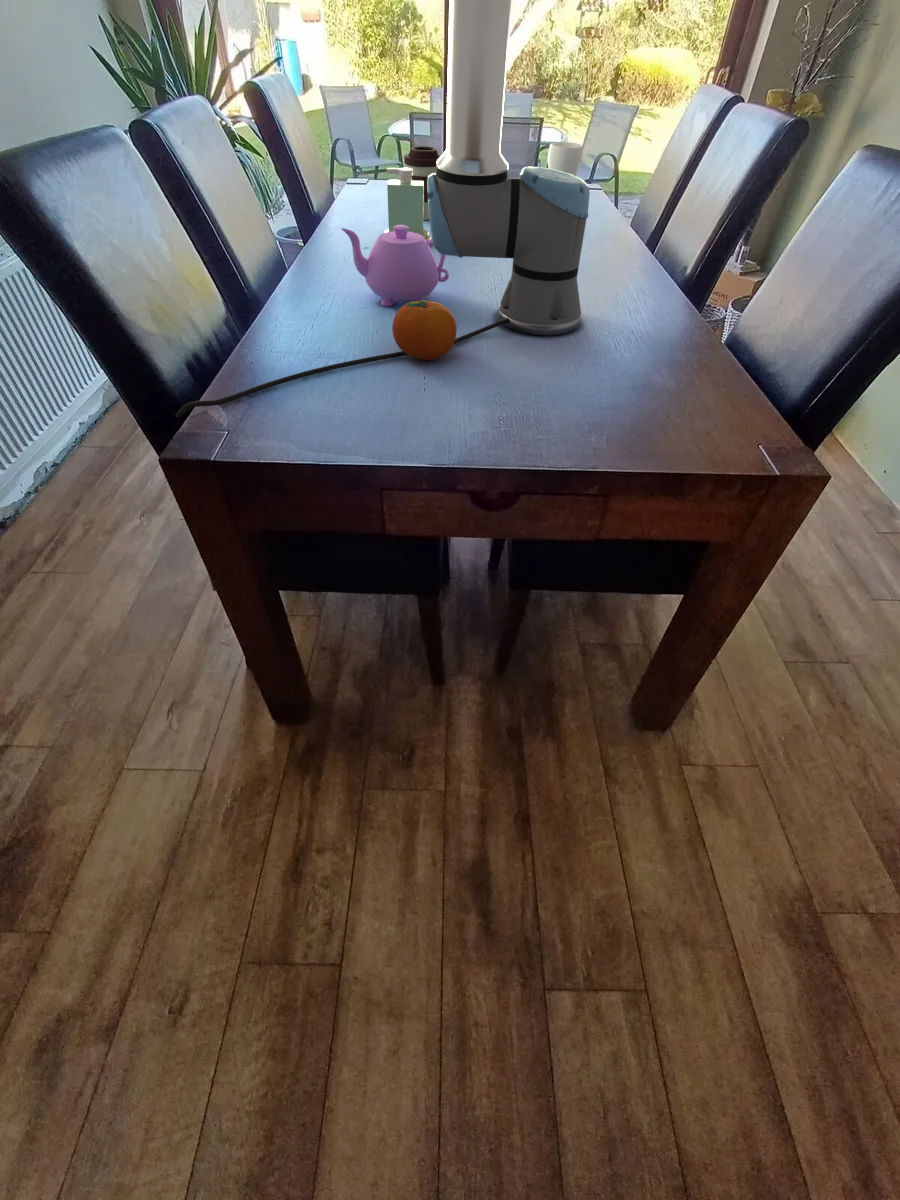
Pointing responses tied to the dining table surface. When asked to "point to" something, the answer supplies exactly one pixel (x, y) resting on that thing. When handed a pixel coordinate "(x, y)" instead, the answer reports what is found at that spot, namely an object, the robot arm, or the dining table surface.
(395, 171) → the soap bottle
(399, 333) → the fruit
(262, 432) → the dining table surface
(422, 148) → the coffee cup
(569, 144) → the cup
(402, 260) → the teapot
